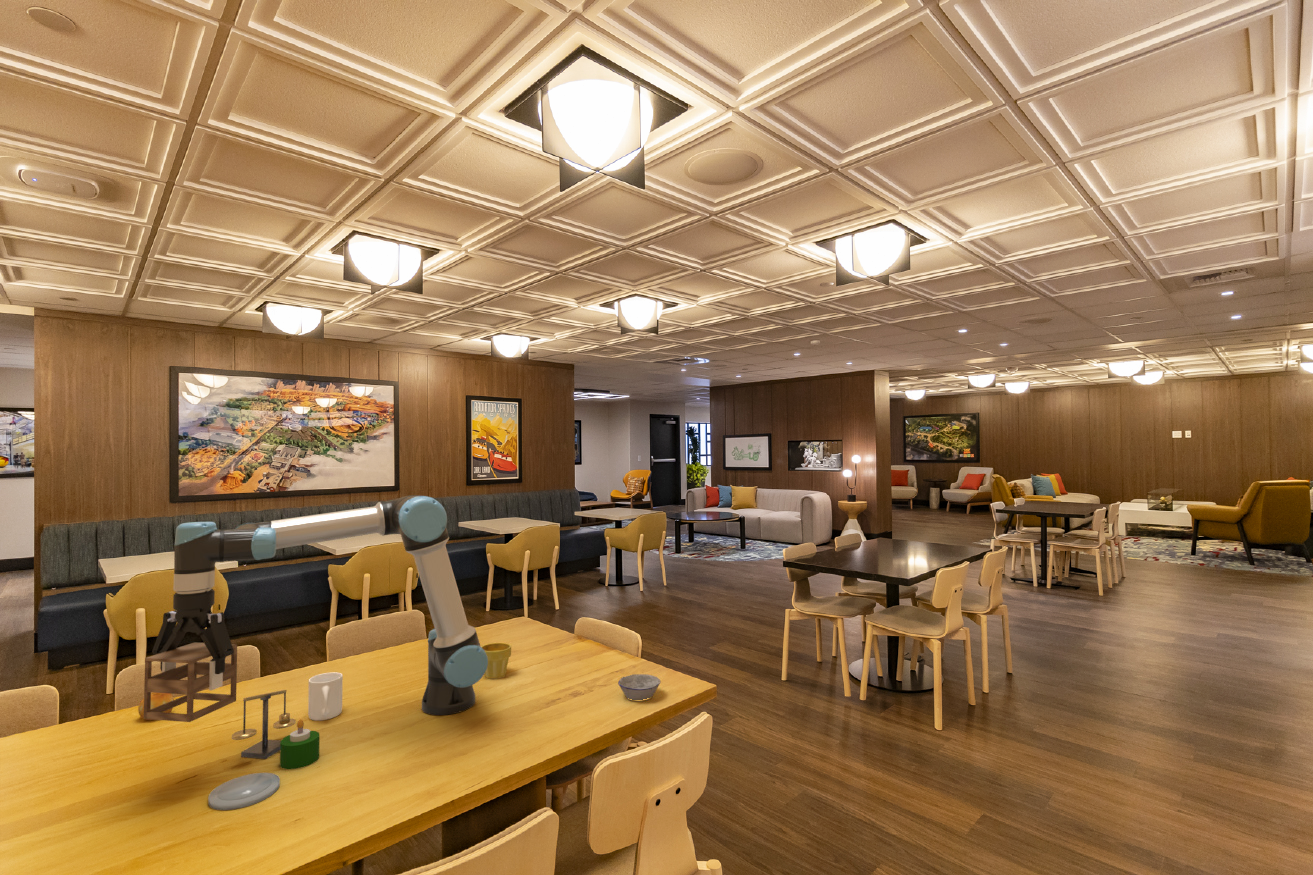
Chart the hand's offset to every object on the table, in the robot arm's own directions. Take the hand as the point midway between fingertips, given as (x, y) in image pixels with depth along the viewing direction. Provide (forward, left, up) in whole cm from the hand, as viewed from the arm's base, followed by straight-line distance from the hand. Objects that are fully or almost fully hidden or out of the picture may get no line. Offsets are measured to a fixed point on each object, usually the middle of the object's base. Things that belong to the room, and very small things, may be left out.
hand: (192, 686), depth 138 cm
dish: (-15, +1, -22) cm, 27 cm away
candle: (-16, -14, -22) cm, 31 cm away
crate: (0, 0, -5) cm, 5 cm away
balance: (-4, -17, -22) cm, 28 cm away
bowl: (-90, -66, -22) cm, 114 cm away
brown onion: (+45, -31, -22) cm, 59 cm away
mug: (-4, -38, -22) cm, 44 cm away
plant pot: (-38, -77, -22) cm, 89 cm away
